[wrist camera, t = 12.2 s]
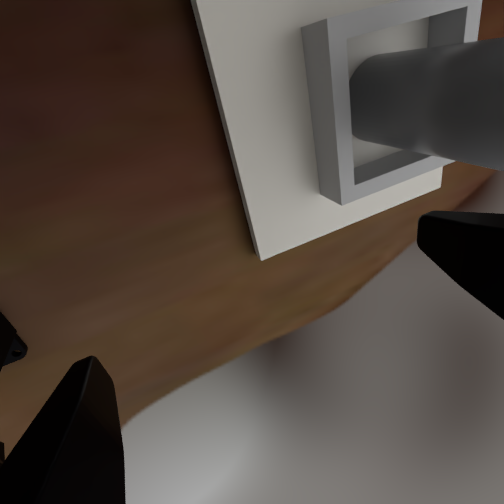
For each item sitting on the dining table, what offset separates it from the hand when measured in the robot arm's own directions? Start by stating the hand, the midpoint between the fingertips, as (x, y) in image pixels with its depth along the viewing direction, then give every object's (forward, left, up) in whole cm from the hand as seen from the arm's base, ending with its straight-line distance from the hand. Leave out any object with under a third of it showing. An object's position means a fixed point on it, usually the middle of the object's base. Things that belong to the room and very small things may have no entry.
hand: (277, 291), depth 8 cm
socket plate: (+11, +1, -13) cm, 17 cm away
